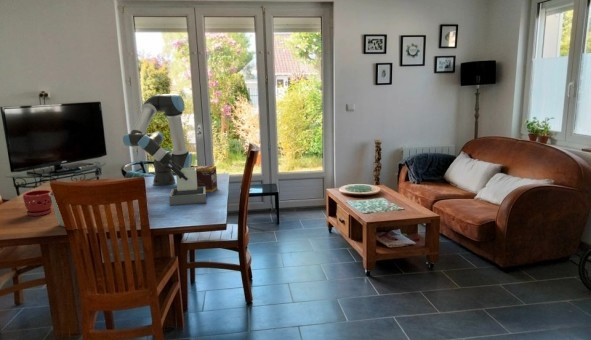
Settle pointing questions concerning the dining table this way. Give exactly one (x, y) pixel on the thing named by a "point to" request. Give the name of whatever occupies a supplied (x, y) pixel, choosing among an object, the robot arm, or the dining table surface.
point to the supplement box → (206, 177)
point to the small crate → (182, 184)
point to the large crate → (188, 196)
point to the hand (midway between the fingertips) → (192, 181)
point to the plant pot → (38, 202)
